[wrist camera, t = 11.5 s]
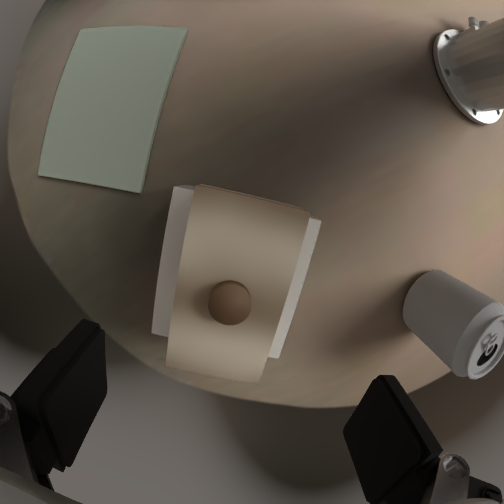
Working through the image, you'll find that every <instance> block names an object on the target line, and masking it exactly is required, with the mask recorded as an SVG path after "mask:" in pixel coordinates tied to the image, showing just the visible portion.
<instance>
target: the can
mask: <svg viewBox="0 0 504 504" xmlns="http://www.w3.org/2000/svg"><path fill="white" fill-rule="evenodd" d="M403 319H404V322H405V325H406V326H407V327H408V328H409V329H410V330H411V331H412V332H413V333H414V334H415V335H416V336H418V337H419V338H420V339H421V340H422V341H423V342H424V343H425V344H426V345H427V346H428V347H429V348H430V349H431V350H432V351H433V352H434V353H435V354H436V355H437V356H438V357H439V358H440V359H441V360H442V361H443V362H444V363H445V364H446V365H447V366H448V367H449V368H450V369H451V370H452V371H453V372H454V373H455V374H456V375H457V376H461V377H465V376H468V377H469V378H470V379H477V378H480V377H482V376H484V375H485V374H487V373H488V372H489V371H490V370H491V369H492V368H493V367H494V366H495V365H496V364H497V363H498V361H499V360H500V359H501V357H502V356H503V354H504V306H503V305H502V304H500V303H499V302H497V301H495V300H494V299H492V298H490V297H489V296H487V295H485V294H483V293H482V292H480V291H478V290H476V289H475V288H473V287H471V286H469V285H467V284H466V283H464V282H462V281H460V280H458V279H456V278H455V277H453V276H451V275H449V274H447V273H445V272H443V271H441V270H432V271H429V272H427V273H425V274H423V275H422V276H421V277H419V278H418V279H417V280H416V281H415V283H414V284H413V285H412V286H411V288H410V290H409V292H408V294H407V296H406V298H405V301H404V305H403Z"/></svg>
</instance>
